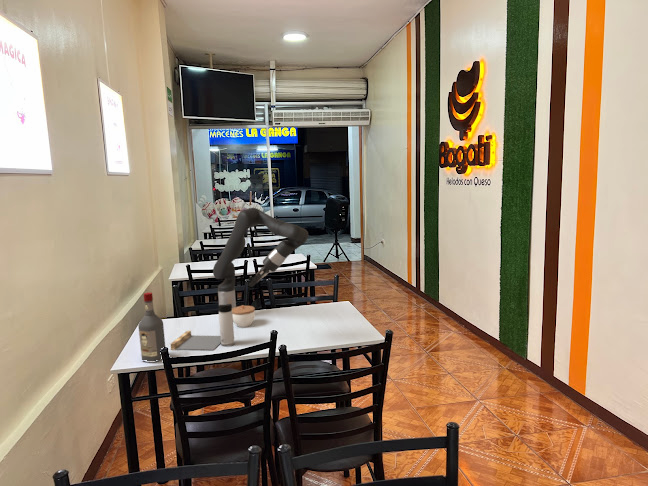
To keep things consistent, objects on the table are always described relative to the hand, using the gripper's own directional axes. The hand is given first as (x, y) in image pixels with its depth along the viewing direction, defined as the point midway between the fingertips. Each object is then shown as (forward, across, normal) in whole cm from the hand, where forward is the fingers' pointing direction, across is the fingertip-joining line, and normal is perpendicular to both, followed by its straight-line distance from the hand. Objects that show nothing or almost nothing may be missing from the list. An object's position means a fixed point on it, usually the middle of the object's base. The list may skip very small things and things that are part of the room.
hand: (252, 283), depth 210 cm
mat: (+39, +3, +1) cm, 39 cm away
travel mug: (+30, +4, +11) cm, 32 cm away
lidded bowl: (+31, -24, +10) cm, 40 cm away
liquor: (+49, +22, -9) cm, 55 cm away
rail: (+47, +3, -6) cm, 47 cm away
